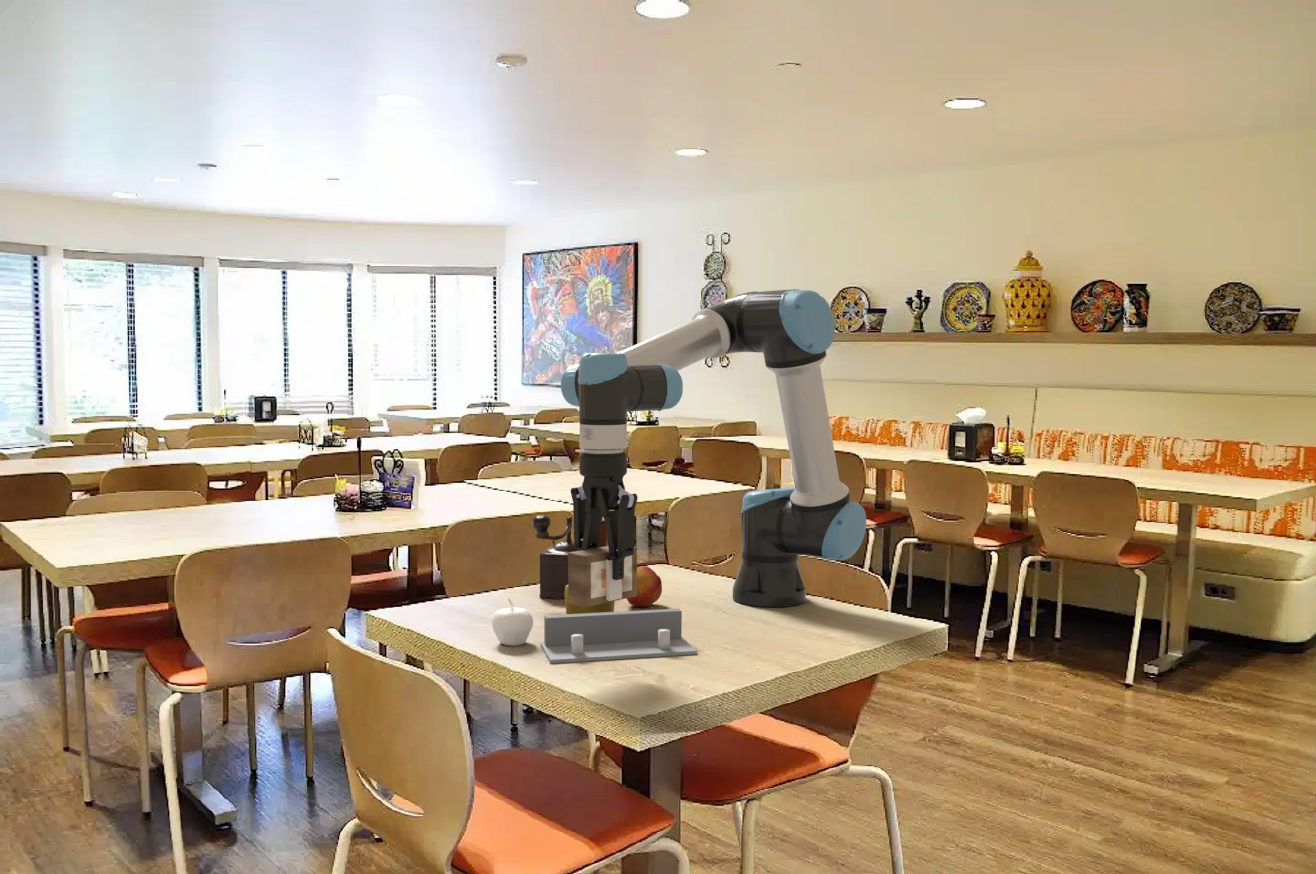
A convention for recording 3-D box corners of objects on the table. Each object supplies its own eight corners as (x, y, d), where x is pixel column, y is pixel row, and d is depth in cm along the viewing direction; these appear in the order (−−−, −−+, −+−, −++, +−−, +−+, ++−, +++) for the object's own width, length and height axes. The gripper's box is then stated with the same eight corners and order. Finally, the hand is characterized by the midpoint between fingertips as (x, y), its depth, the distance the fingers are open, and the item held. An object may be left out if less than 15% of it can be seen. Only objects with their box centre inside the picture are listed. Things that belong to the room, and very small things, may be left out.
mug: (615, 626, 196) (602, 572, 198) (563, 640, 199) (550, 586, 201) (634, 623, 208) (621, 572, 210) (585, 637, 210) (572, 586, 212)
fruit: (667, 609, 218) (667, 569, 218) (627, 611, 216) (627, 571, 216) (657, 601, 226) (657, 562, 225) (619, 602, 224) (619, 564, 223)
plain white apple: (495, 638, 195) (495, 593, 195) (535, 638, 195) (535, 594, 194) (488, 648, 188) (488, 602, 188) (529, 649, 188) (529, 603, 187)
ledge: (679, 638, 196) (679, 607, 196) (696, 654, 185) (697, 621, 185) (540, 646, 190) (540, 614, 189) (550, 663, 179) (550, 629, 179)
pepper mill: (547, 588, 238) (547, 505, 236) (597, 590, 236) (597, 507, 235) (529, 604, 222) (528, 516, 221) (582, 606, 221) (582, 517, 219)
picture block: (620, 592, 180) (620, 543, 179) (637, 596, 177) (637, 547, 176) (568, 602, 172) (568, 552, 172) (585, 607, 169) (585, 556, 169)
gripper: (550, 448, 176) (551, 591, 178) (622, 456, 164) (623, 609, 166) (585, 445, 181) (586, 585, 183) (658, 452, 169) (658, 602, 171)
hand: (603, 596), depth 174 cm, fingers closed on picture block, 4 cm apart
